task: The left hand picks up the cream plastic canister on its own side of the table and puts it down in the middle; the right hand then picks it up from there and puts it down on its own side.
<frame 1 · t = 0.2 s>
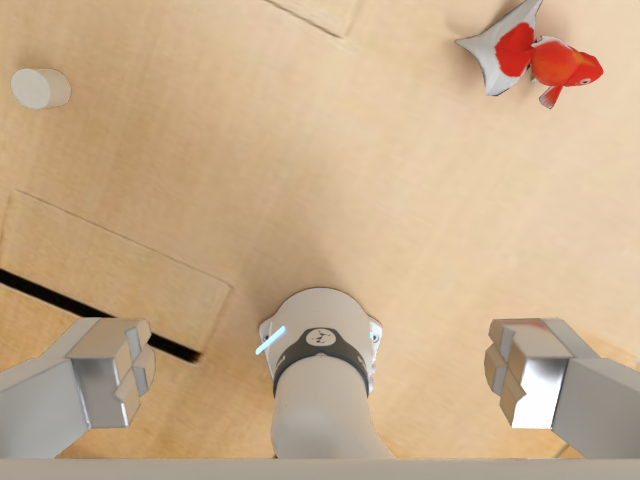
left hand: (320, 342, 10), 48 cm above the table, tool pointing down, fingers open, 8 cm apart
canister: (53, 87, 53), on the table
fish: (509, 59, 52), on the table
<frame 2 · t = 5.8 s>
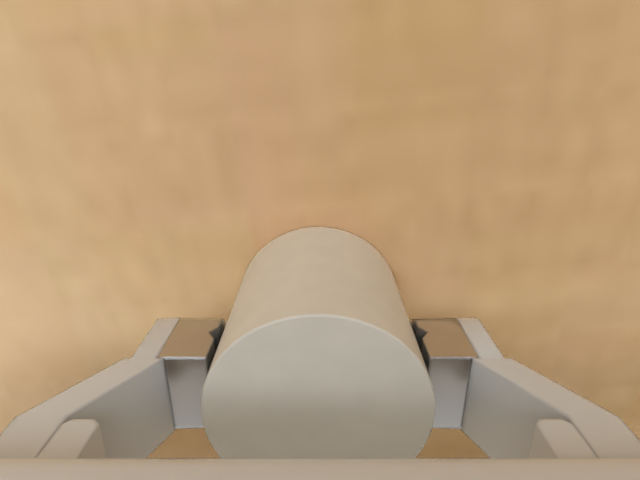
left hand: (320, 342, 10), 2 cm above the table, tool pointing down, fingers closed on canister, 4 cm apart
canister: (318, 299, 12), on the table, touching left hand
when the left hand's fingers open (3 cm above the table, at t = 14.5 s): canister stays where it is, on the table.
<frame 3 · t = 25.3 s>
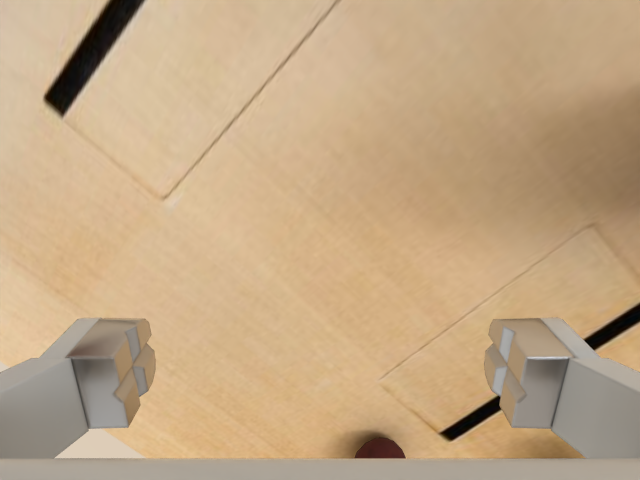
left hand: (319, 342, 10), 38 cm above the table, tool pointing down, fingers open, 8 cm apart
potato: (377, 445, 61), on the table
when the right hand's fingers open (2 cm above the table, at t = 29.6 s): canister drops 1 cm, on the table.
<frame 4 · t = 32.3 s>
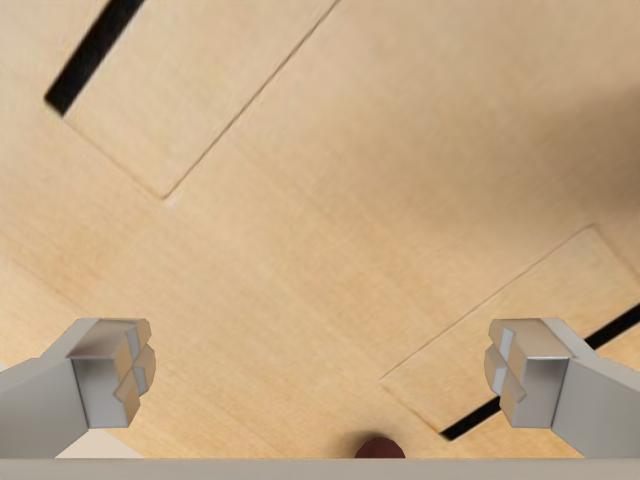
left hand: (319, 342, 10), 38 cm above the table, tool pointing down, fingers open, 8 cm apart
potato: (377, 445, 61), on the table
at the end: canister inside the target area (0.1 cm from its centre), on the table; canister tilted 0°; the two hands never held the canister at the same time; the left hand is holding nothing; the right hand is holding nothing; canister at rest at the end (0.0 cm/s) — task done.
